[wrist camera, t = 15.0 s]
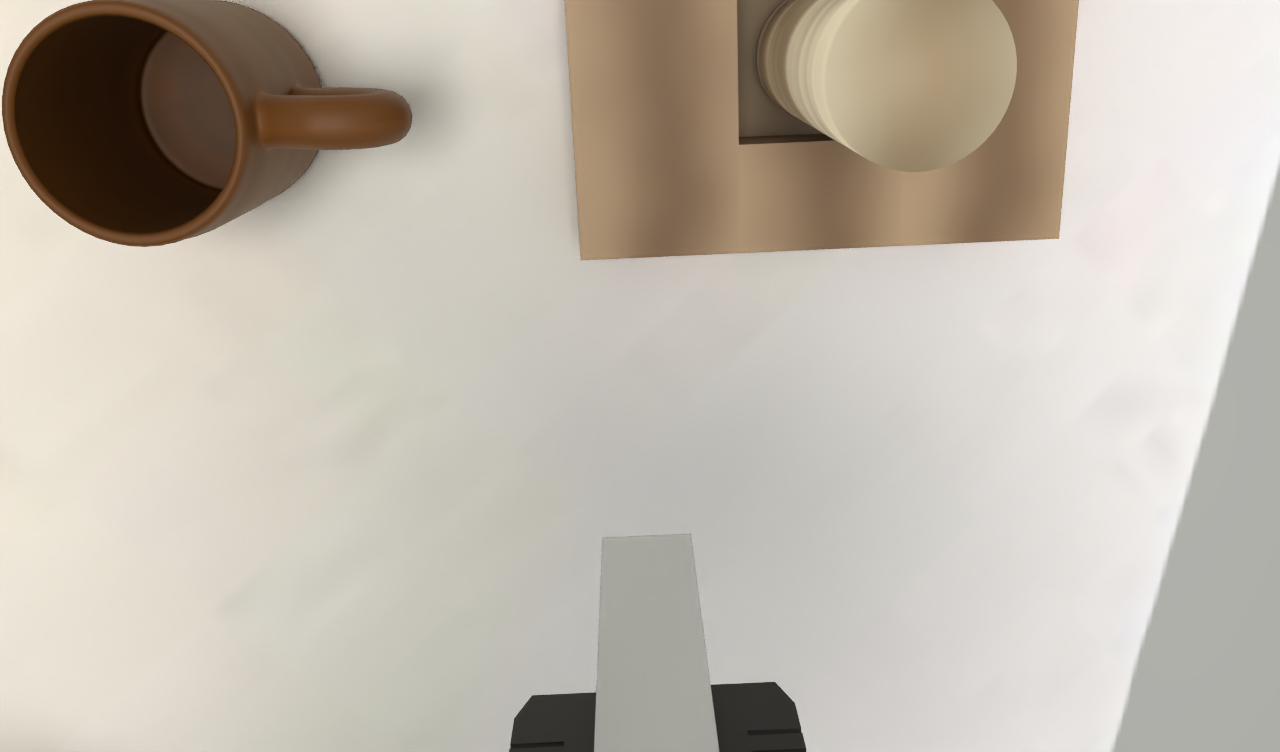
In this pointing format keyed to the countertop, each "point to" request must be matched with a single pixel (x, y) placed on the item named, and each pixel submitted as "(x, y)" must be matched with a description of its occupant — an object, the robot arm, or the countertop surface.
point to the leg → (892, 75)
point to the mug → (174, 116)
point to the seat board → (786, 143)
